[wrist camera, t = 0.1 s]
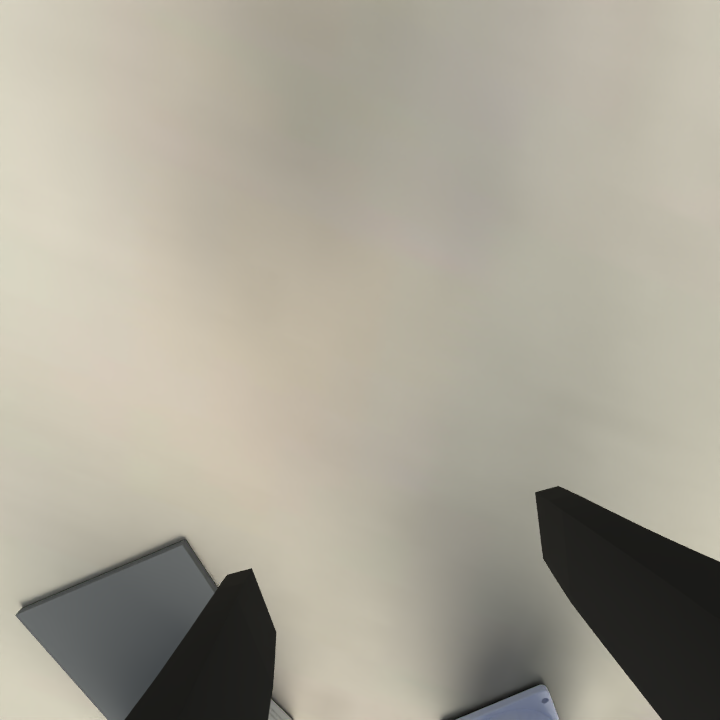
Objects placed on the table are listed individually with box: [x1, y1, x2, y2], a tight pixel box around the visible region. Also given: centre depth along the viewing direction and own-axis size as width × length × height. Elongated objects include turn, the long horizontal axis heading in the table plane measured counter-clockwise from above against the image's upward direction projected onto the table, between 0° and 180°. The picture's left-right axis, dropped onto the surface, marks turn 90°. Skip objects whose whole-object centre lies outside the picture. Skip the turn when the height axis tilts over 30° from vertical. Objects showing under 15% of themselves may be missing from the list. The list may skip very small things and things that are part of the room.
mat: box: [16, 540, 218, 720], centre depth 20 cm, size 10×10×1 cm
